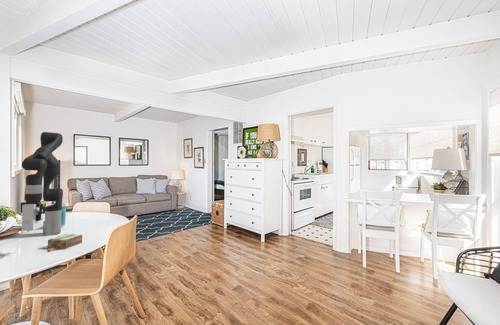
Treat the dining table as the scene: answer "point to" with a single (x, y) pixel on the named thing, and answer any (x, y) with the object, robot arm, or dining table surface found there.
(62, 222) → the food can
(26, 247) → the dining table surface
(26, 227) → the skincare box
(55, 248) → the arrow marker
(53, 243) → the stand
